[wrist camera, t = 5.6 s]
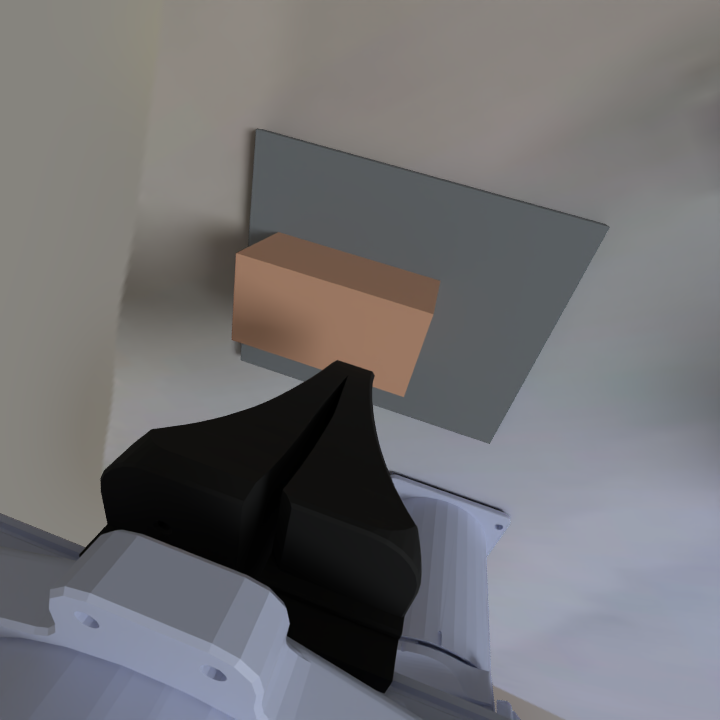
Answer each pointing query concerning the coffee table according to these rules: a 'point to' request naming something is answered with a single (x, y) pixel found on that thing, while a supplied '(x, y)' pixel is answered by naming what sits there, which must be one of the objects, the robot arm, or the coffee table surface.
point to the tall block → (332, 308)
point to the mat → (432, 269)
